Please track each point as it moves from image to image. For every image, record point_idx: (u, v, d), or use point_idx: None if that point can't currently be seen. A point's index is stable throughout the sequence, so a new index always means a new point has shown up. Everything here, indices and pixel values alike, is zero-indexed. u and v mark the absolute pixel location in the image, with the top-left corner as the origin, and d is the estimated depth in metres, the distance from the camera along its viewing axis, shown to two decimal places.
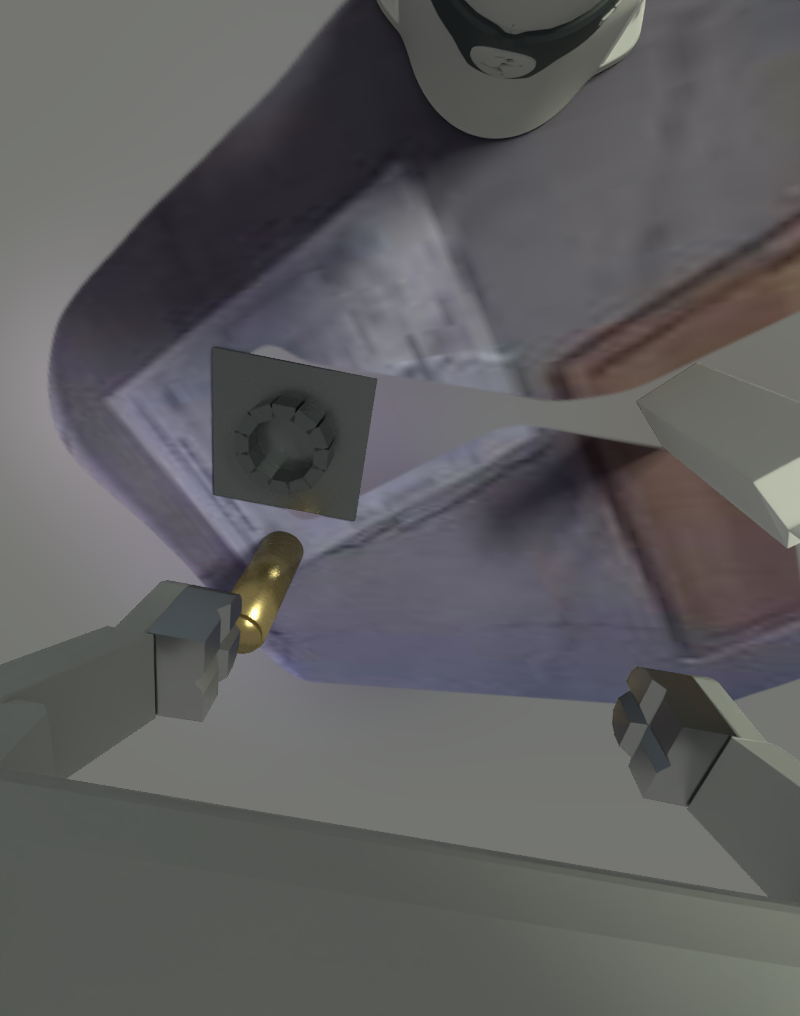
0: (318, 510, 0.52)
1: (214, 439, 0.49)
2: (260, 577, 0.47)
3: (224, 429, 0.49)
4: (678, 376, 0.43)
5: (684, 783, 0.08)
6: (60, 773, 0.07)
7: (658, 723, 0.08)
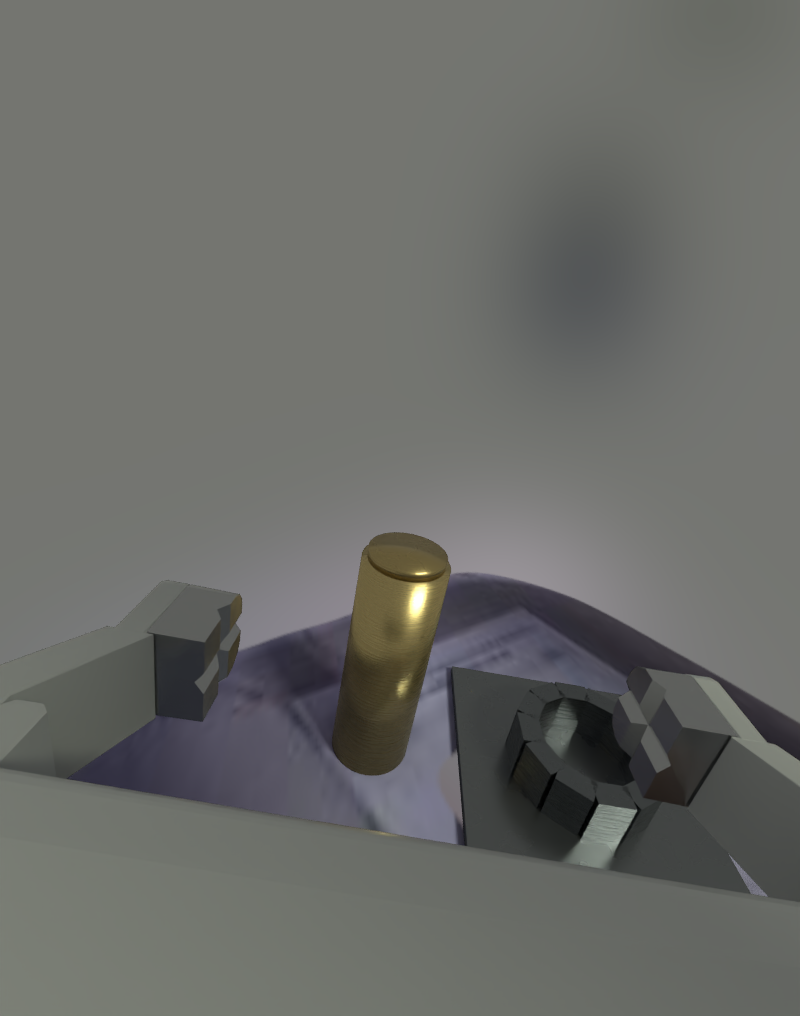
0: (471, 806, 0.28)
1: (530, 680, 0.39)
2: None
3: None
4: None
5: (683, 783, 0.08)
6: (60, 773, 0.07)
7: (658, 723, 0.08)
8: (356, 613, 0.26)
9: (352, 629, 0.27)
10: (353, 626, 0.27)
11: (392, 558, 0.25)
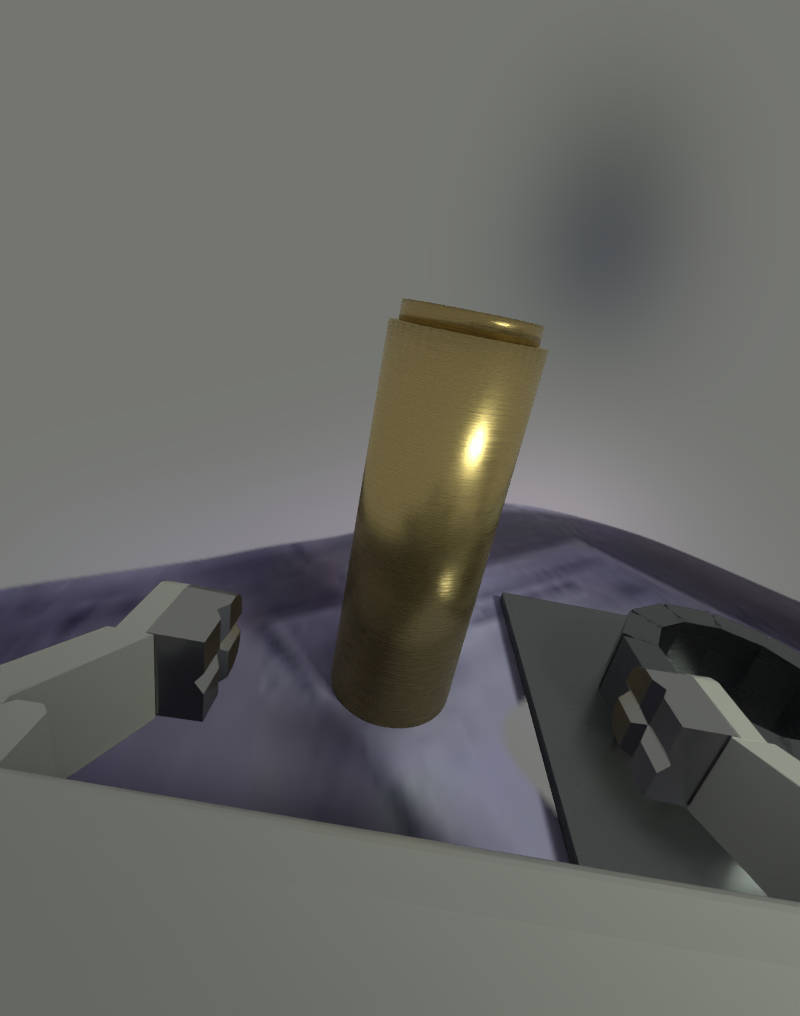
0: (567, 779, 0.16)
1: (613, 614, 0.27)
2: None
3: None
4: None
5: (683, 783, 0.08)
6: (60, 773, 0.07)
7: (658, 723, 0.08)
8: (378, 428, 0.15)
9: (369, 464, 0.15)
10: (370, 457, 0.15)
11: None
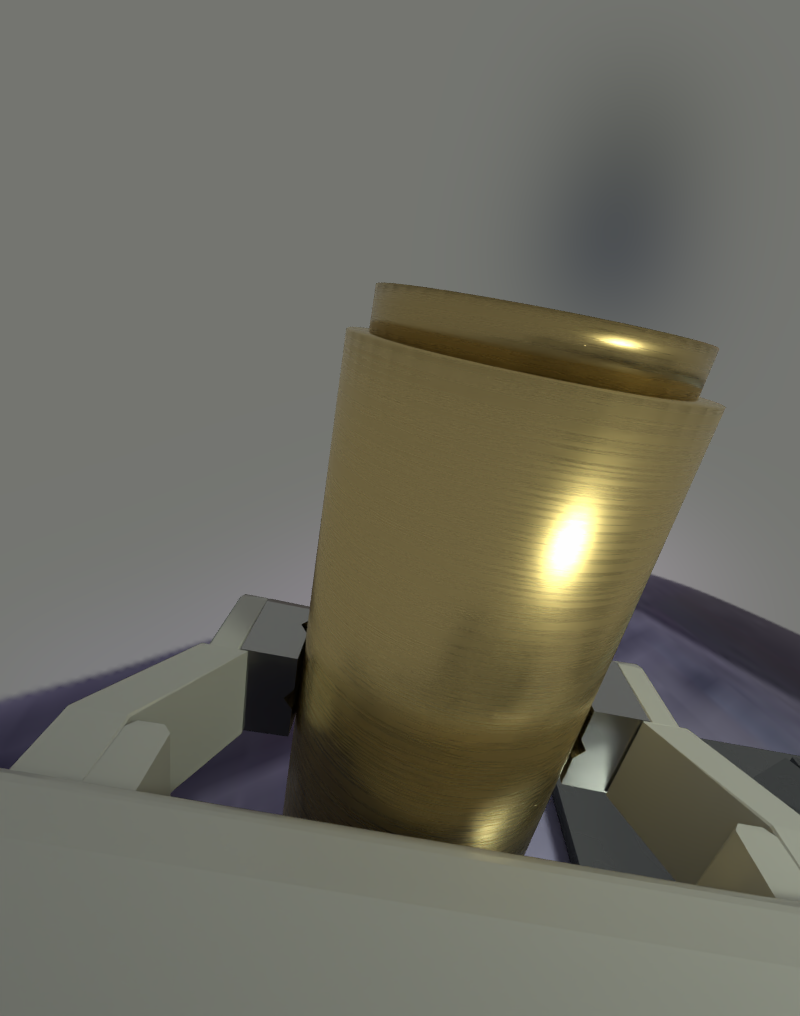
0: None
1: None
2: None
3: (738, 766, 0.18)
4: None
5: (602, 770, 0.08)
6: None
7: None
8: (325, 569, 0.07)
9: (311, 632, 0.07)
10: (313, 621, 0.07)
11: None
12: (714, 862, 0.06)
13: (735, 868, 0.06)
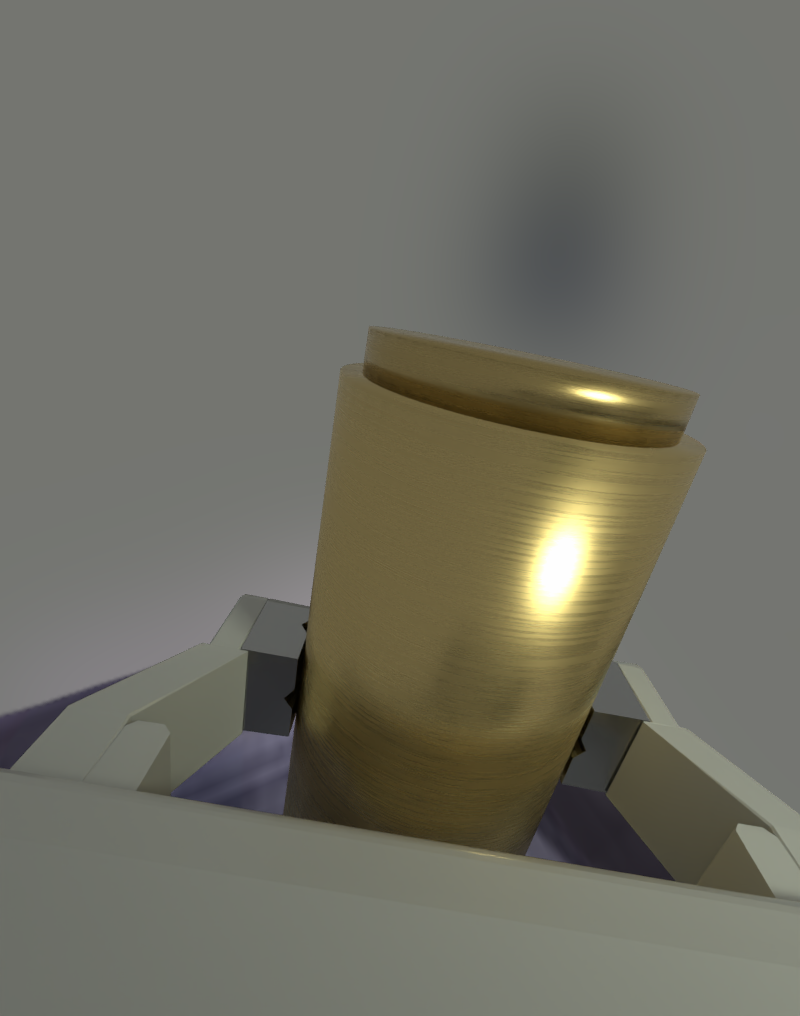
0: None
1: None
2: None
3: None
4: None
5: (602, 769, 0.08)
6: None
7: None
8: (321, 601, 0.07)
9: (308, 659, 0.08)
10: (310, 649, 0.07)
11: (475, 350, 0.05)
12: (714, 862, 0.06)
13: (735, 868, 0.06)
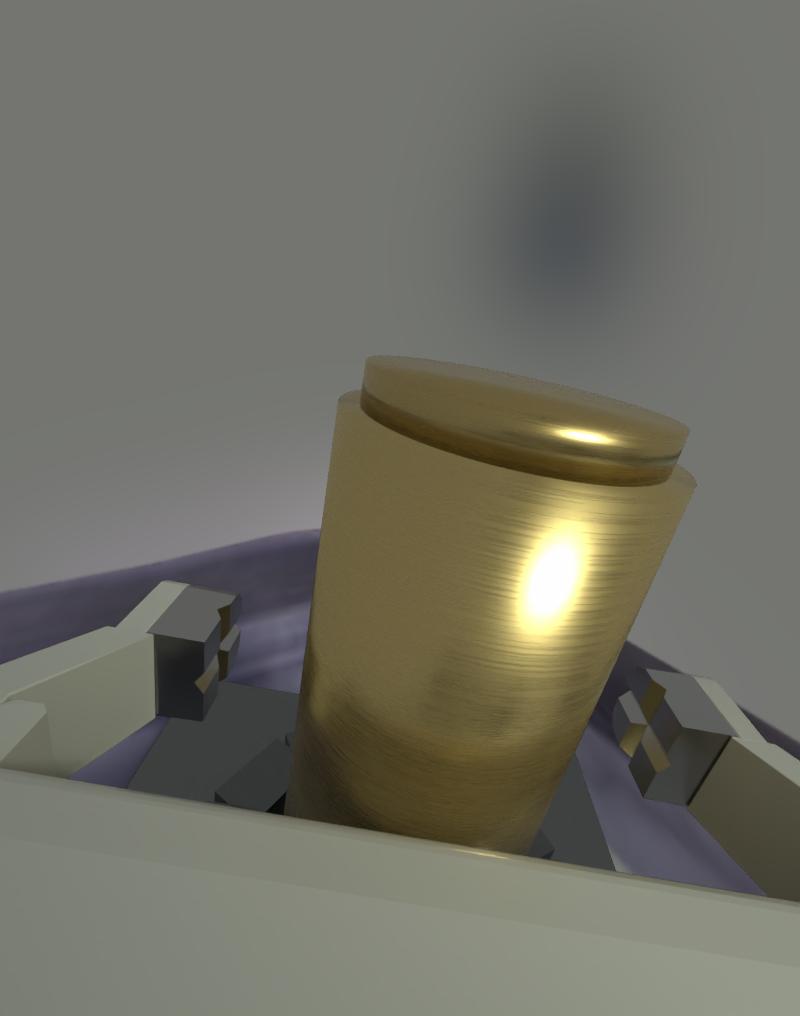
0: None
1: None
2: None
3: None
4: None
5: (683, 783, 0.08)
6: (60, 773, 0.07)
7: (658, 723, 0.08)
8: (318, 627, 0.07)
9: (306, 681, 0.08)
10: (307, 672, 0.08)
11: (470, 388, 0.06)
12: None
13: None
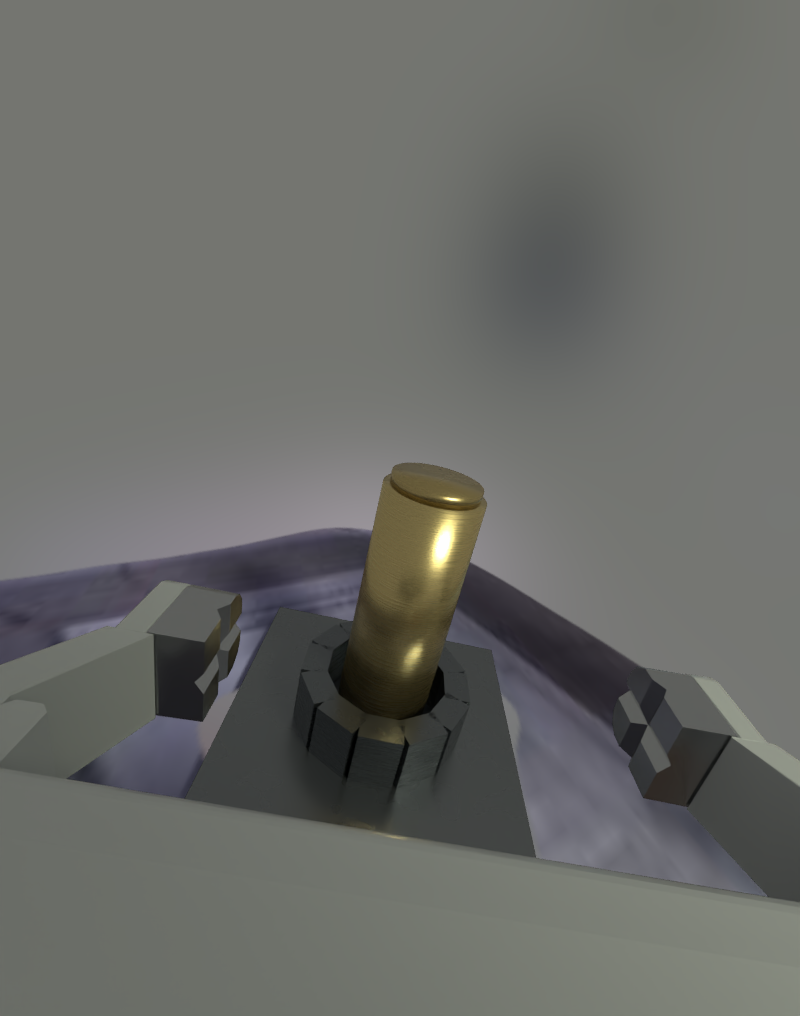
0: (223, 741, 0.23)
1: None
2: None
3: None
4: None
5: (684, 784, 0.08)
6: (60, 773, 0.07)
7: (658, 723, 0.08)
8: (374, 551, 0.22)
9: (367, 572, 0.23)
10: (368, 568, 0.23)
11: (421, 482, 0.21)
12: None
13: None
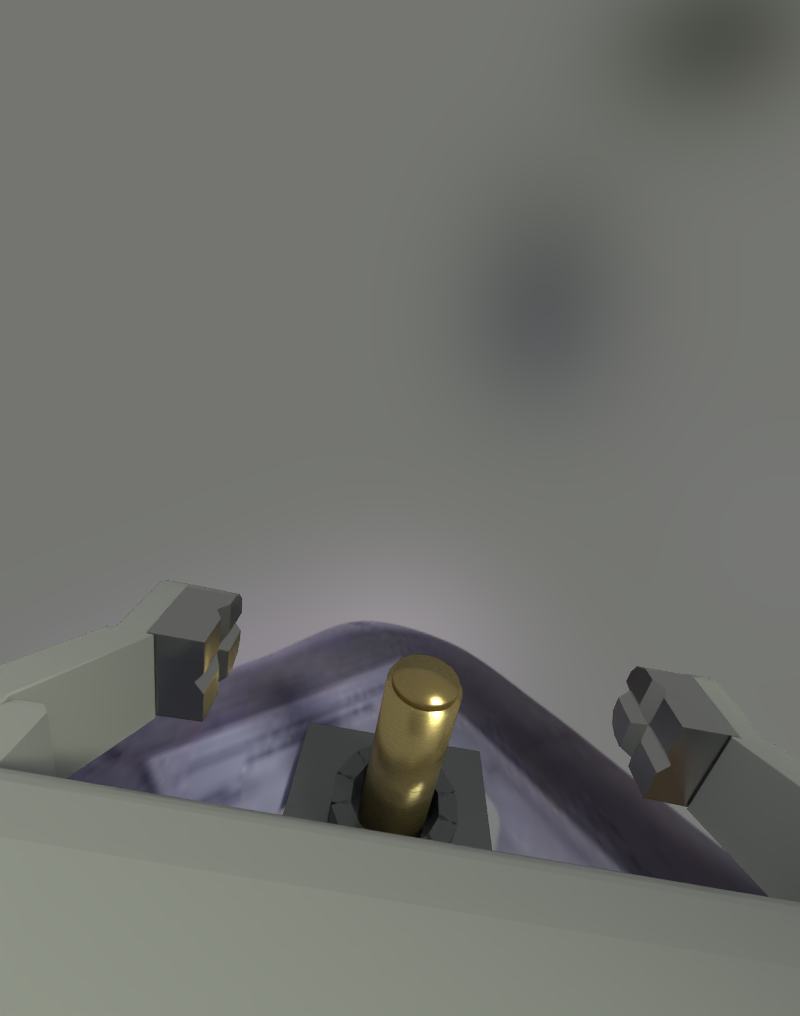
0: None
1: None
2: None
3: None
4: None
5: (684, 783, 0.08)
6: (60, 773, 0.07)
7: (658, 723, 0.08)
8: (382, 729, 0.31)
9: (377, 740, 0.31)
10: (378, 738, 0.31)
11: (413, 688, 0.29)
12: None
13: None
